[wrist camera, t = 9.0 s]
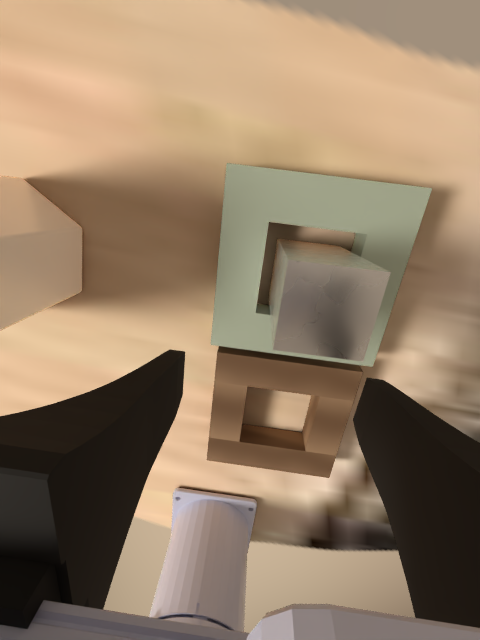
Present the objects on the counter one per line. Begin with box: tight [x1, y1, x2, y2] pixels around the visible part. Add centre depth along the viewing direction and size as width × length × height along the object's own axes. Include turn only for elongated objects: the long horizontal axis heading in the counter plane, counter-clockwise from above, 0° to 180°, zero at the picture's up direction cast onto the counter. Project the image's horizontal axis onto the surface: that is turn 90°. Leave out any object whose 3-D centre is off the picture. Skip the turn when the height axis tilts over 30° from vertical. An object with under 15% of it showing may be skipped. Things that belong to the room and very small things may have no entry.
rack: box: [211, 163, 432, 367], centre depth 18 cm, size 11×11×2 cm
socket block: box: [207, 346, 363, 478], centre depth 22 cm, size 10×10×2 cm
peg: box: [269, 239, 391, 362], centre depth 16 cm, size 4×4×8 cm
